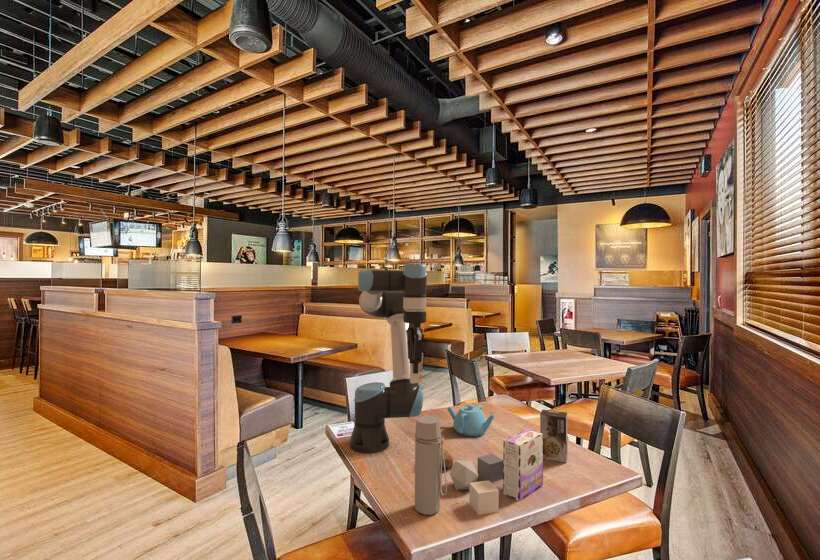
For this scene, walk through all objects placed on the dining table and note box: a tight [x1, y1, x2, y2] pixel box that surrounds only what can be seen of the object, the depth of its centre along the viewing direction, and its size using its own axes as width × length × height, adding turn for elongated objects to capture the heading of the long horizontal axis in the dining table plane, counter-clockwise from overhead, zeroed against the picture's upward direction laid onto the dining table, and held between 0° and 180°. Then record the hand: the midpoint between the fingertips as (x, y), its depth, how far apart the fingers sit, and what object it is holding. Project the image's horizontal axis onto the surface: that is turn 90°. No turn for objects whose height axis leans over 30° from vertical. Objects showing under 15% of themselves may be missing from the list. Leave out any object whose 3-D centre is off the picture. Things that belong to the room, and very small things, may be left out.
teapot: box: [447, 403, 496, 437], centre depth 175 cm, size 15×17×11 cm
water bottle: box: [414, 415, 448, 516], centre depth 114 cm, size 9×8×25 cm
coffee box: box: [539, 409, 569, 463], centre depth 149 cm, size 9×6×16 cm
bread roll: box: [440, 447, 454, 474], centre depth 141 cm, size 10×10×8 cm
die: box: [449, 459, 479, 491], centre depth 127 cm, size 8×9×10 cm
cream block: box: [469, 480, 500, 516], centre depth 115 cm, size 6×6×6 cm
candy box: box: [502, 428, 544, 502], centre depth 125 cm, size 14×6×16 cm, turn 133°
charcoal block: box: [477, 453, 503, 484], centre depth 133 cm, size 6×6×6 cm
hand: (414, 382), depth 134 cm, fingers closed
